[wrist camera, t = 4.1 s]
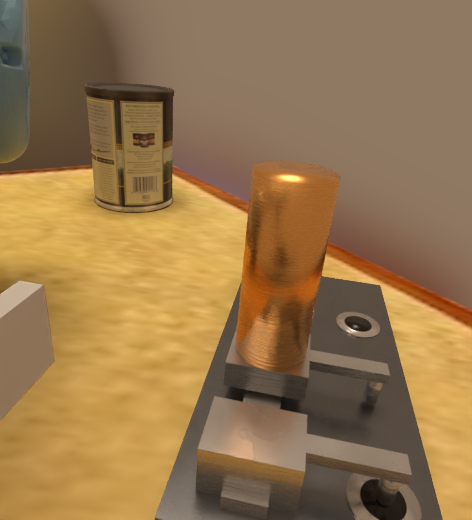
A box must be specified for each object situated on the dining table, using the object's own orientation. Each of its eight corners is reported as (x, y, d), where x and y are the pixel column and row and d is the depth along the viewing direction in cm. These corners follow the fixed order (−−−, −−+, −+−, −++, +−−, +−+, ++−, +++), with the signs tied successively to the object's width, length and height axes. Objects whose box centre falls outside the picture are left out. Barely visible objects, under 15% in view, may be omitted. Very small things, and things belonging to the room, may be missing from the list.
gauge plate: (154, 532, 17) (154, 473, 16) (246, 274, 39) (250, 238, 37) (453, 606, 16) (487, 550, 14) (377, 295, 37) (387, 258, 35)
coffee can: (136, 184, 62) (133, 82, 55) (188, 201, 57) (191, 90, 50) (76, 198, 54) (65, 81, 48) (130, 219, 49) (126, 91, 43)
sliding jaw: (222, 396, 23) (241, 176, 17) (235, 351, 26) (255, 157, 21) (383, 428, 22) (458, 203, 16) (374, 377, 25) (433, 178, 20)
